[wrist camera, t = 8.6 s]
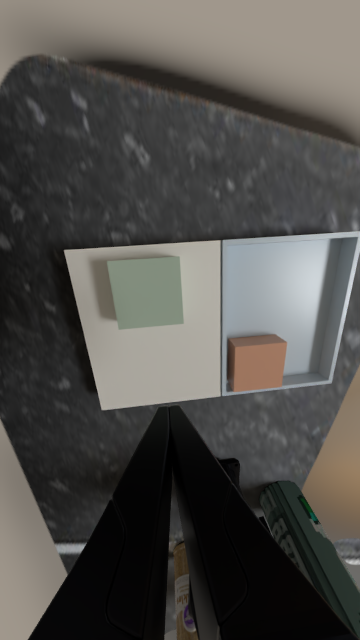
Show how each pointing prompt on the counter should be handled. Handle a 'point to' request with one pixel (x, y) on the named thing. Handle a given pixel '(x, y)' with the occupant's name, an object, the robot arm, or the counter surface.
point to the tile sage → (147, 292)
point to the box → (288, 299)
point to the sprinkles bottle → (182, 596)
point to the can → (311, 549)
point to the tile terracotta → (256, 362)
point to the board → (151, 328)
